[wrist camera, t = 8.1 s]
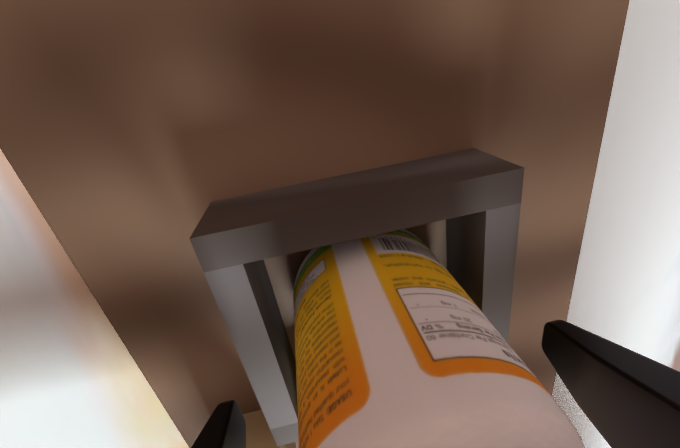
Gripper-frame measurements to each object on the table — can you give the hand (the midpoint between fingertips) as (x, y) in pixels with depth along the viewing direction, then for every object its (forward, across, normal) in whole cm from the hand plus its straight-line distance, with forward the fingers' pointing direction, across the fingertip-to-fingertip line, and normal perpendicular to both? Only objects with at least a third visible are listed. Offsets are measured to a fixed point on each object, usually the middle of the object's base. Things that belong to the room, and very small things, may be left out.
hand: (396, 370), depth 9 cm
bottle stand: (+5, 0, 0) cm, 5 cm away
